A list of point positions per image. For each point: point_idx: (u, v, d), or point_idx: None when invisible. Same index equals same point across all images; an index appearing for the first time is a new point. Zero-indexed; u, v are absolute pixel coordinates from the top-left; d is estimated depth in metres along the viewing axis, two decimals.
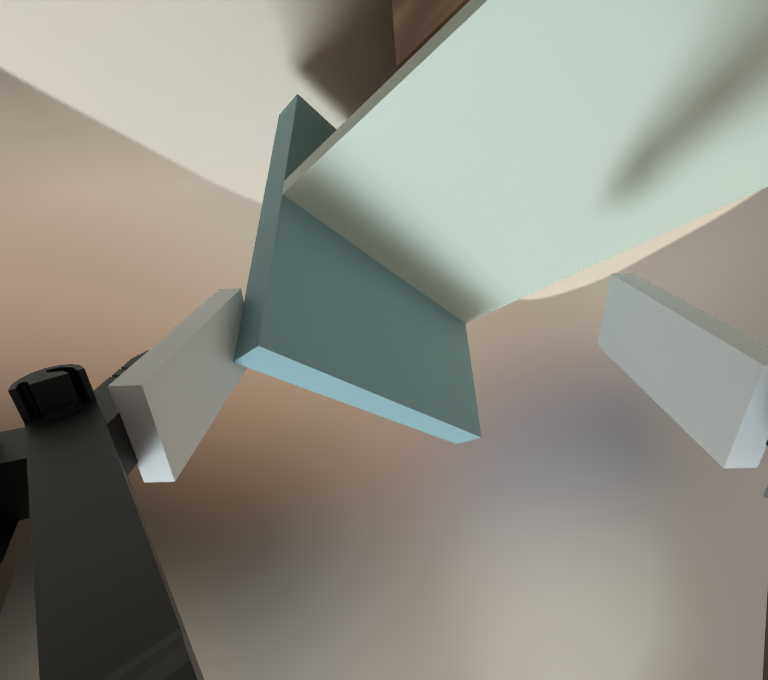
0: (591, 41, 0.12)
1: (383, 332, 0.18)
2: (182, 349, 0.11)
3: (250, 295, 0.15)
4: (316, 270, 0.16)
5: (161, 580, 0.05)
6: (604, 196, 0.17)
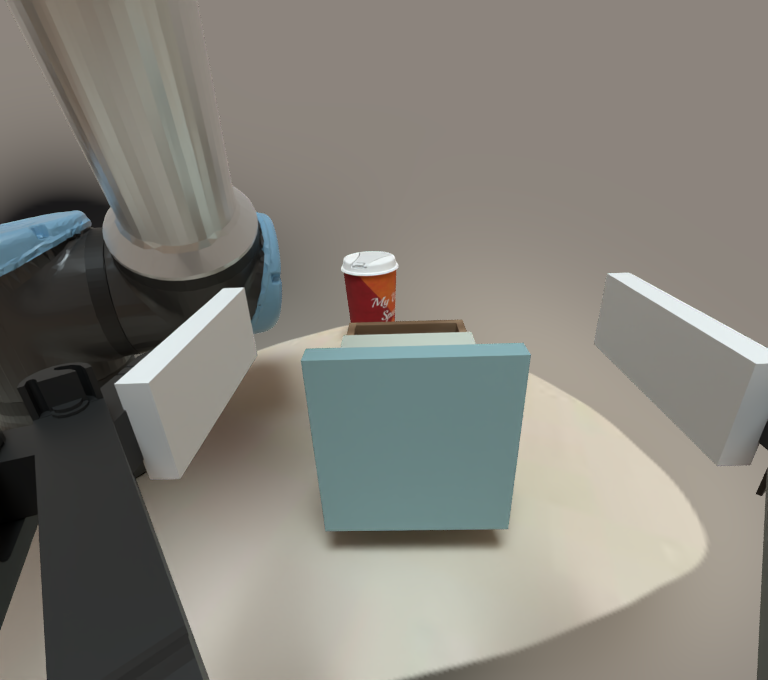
0: None
1: None
2: (187, 348, 0.11)
3: None
4: None
5: (166, 578, 0.05)
6: None
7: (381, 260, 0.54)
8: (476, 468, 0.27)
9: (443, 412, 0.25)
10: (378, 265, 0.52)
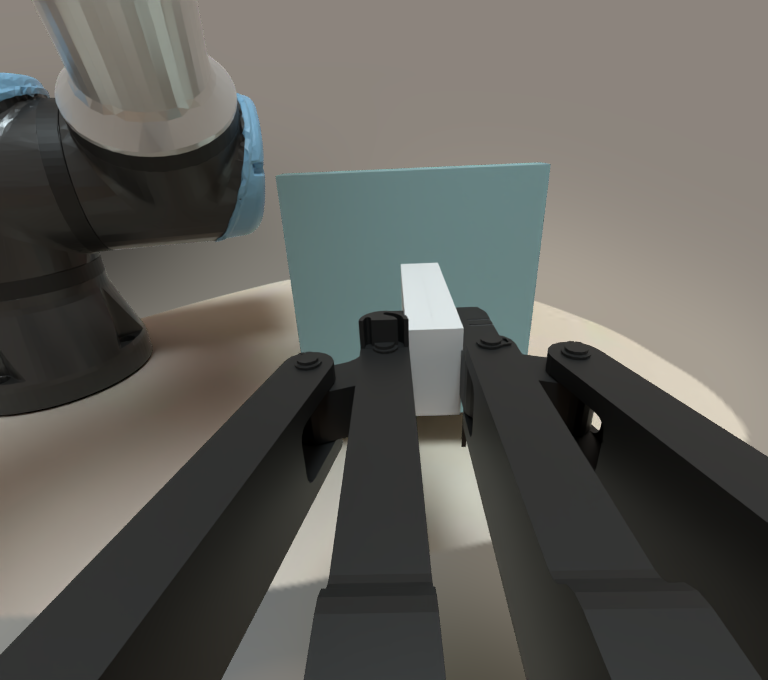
0: None
1: None
2: None
3: None
4: None
5: (425, 523, 0.06)
6: None
7: None
8: None
9: (446, 248, 0.21)
10: None
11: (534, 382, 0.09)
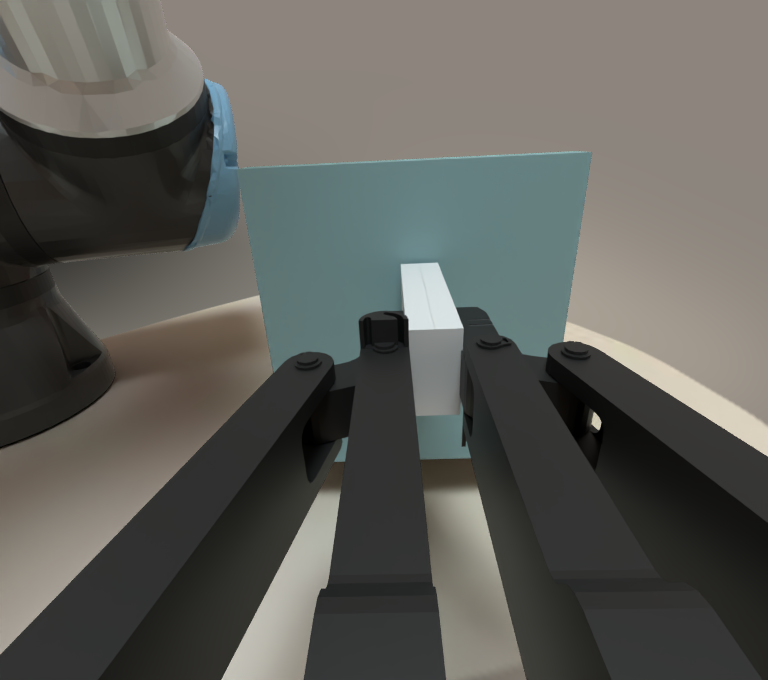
0: None
1: None
2: None
3: None
4: None
5: (425, 523, 0.06)
6: None
7: None
8: None
9: (456, 260, 0.17)
10: None
11: (534, 382, 0.09)
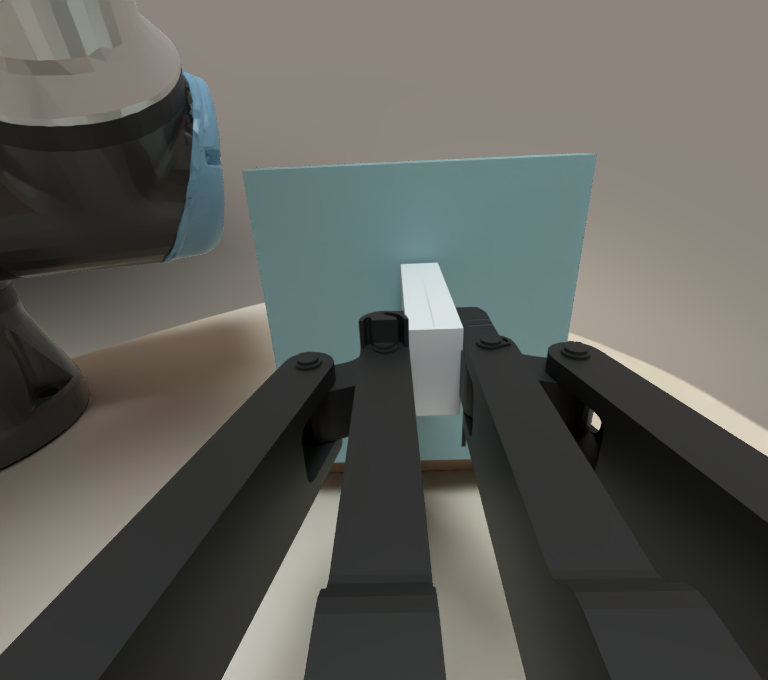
0: None
1: None
2: None
3: None
4: None
5: (425, 523, 0.06)
6: None
7: None
8: None
9: (460, 262, 0.17)
10: None
11: (534, 382, 0.09)
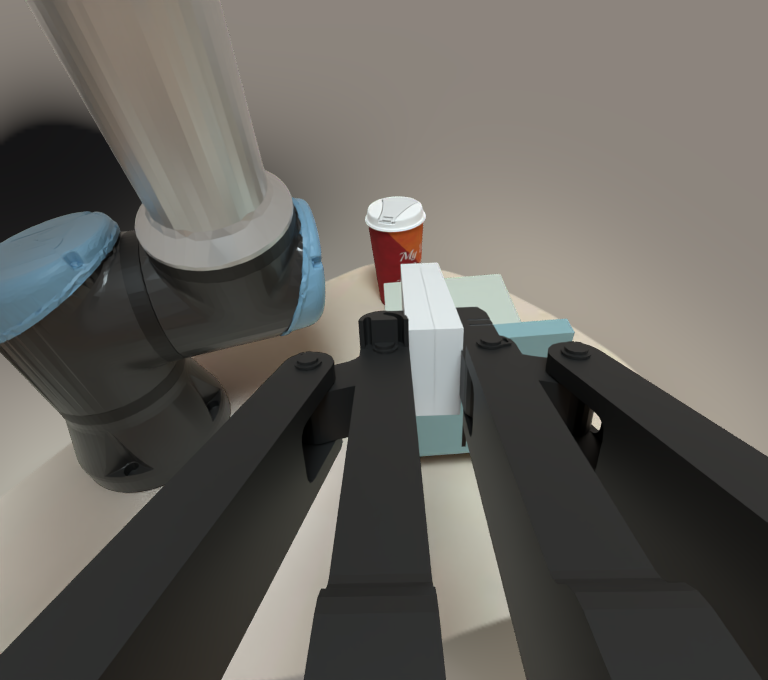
0: None
1: None
2: None
3: None
4: None
5: (425, 523, 0.06)
6: None
7: (409, 212, 0.51)
8: None
9: None
10: (407, 219, 0.50)
11: (534, 382, 0.09)
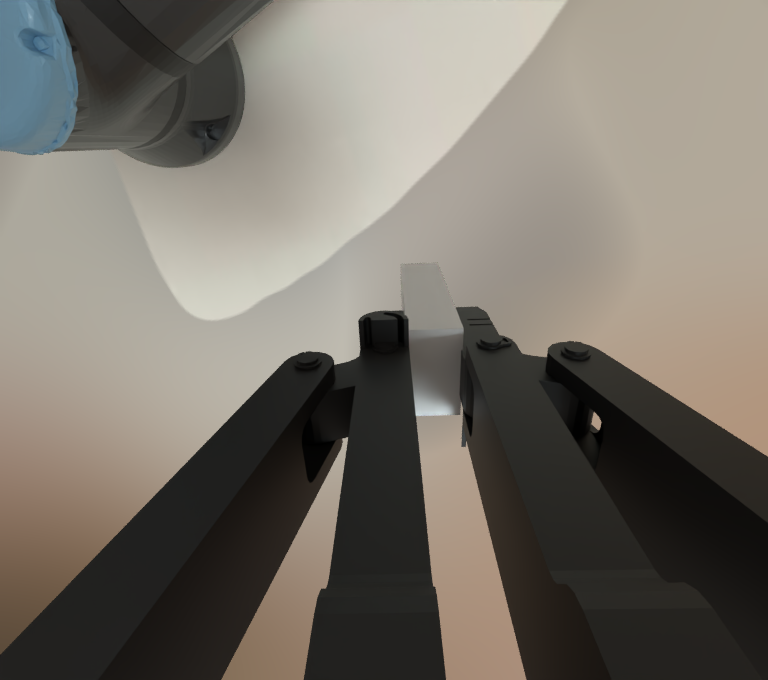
0: None
1: None
2: None
3: None
4: None
5: (425, 523, 0.06)
6: None
7: None
8: None
9: None
10: None
11: (534, 382, 0.09)
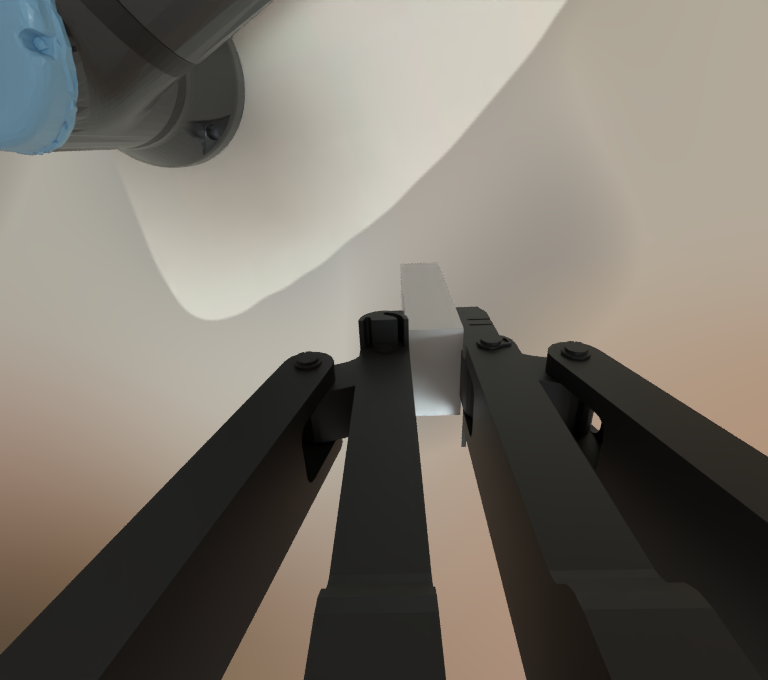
0: None
1: None
2: None
3: None
4: None
5: (425, 523, 0.06)
6: None
7: None
8: None
9: None
10: None
11: (534, 382, 0.09)
